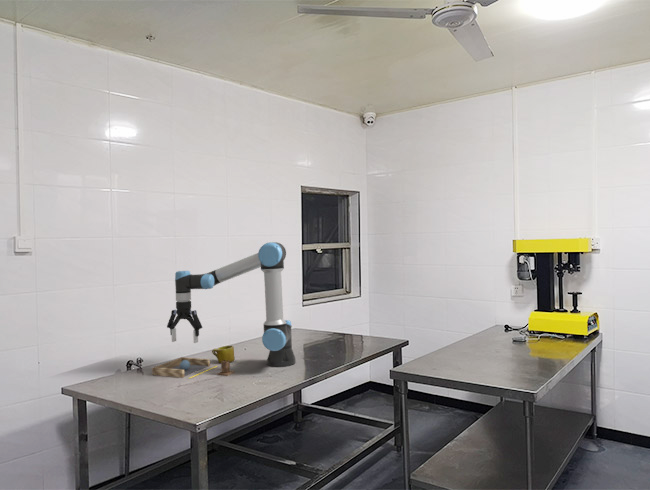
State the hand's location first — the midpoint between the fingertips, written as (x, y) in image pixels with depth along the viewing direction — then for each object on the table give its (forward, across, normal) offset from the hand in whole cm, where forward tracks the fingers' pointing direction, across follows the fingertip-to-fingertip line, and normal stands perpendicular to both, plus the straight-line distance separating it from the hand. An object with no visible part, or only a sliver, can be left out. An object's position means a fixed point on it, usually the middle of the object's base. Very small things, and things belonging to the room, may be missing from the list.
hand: (184, 342), depth 254 cm
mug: (+15, -9, -21) cm, 27 cm away
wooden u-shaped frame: (+15, +2, 0) cm, 15 cm away
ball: (+12, 0, 0) cm, 12 cm away
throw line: (+15, -11, 0) cm, 18 cm away
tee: (+15, -24, 0) cm, 28 cm away
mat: (+15, +2, 0) cm, 15 cm away
